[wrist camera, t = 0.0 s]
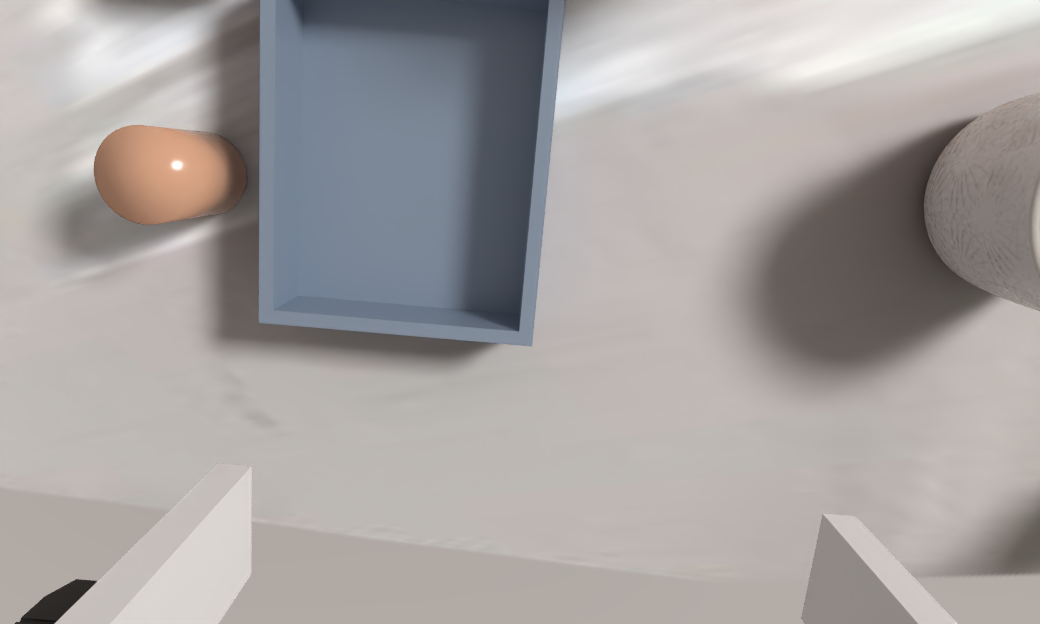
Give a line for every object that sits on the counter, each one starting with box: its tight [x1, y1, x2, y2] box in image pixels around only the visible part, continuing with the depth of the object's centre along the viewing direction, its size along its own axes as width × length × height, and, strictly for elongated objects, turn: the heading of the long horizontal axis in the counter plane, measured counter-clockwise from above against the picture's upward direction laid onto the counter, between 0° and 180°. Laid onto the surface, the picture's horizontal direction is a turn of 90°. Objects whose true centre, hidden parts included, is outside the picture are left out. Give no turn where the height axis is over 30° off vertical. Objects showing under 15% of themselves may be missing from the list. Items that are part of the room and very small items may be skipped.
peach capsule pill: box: [94, 125, 247, 225], centre depth 37 cm, size 5×5×7 cm
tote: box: [259, 0, 565, 346], centre depth 38 cm, size 20×16×5 cm
